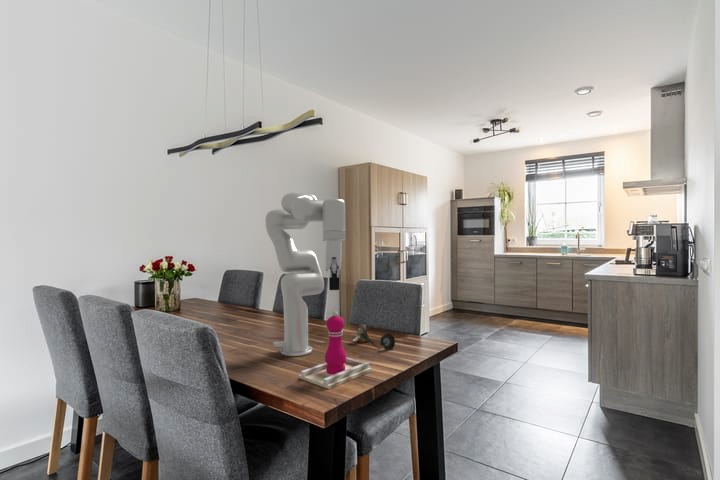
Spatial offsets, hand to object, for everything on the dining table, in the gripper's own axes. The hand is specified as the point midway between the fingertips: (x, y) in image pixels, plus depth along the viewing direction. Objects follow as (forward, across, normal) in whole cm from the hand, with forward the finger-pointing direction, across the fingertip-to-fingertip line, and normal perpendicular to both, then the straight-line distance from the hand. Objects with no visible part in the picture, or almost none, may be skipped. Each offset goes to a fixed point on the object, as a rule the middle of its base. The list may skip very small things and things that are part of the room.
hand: (334, 287), depth 127 cm
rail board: (+29, +1, 0) cm, 29 cm away
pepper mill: (+28, 0, 0) cm, 28 cm away
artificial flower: (+30, -34, +15) cm, 48 cm away
